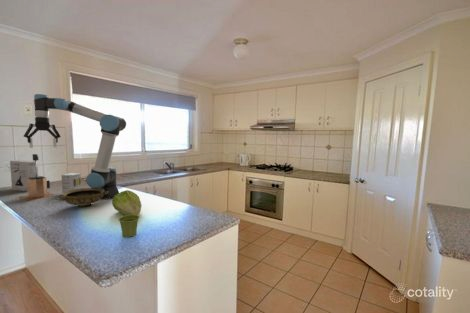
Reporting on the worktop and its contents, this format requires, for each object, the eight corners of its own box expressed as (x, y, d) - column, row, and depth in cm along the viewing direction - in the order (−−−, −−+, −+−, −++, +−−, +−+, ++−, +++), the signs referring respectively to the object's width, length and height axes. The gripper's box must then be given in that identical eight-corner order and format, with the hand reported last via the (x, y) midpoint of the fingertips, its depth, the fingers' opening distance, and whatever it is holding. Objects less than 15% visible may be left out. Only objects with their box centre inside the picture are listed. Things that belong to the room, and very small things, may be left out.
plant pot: (142, 230, 116) (142, 214, 115) (135, 239, 106) (134, 221, 105) (124, 230, 115) (123, 214, 115) (115, 239, 106) (114, 221, 105)
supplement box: (73, 196, 176) (72, 175, 175) (61, 195, 177) (60, 174, 175) (81, 193, 186) (81, 173, 184) (71, 192, 186) (70, 172, 185)
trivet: (57, 197, 173) (57, 195, 173) (27, 202, 157) (26, 201, 157) (47, 193, 182) (47, 192, 182) (17, 198, 166) (17, 197, 166)
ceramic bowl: (60, 215, 135) (59, 199, 134) (54, 206, 151) (53, 191, 151) (114, 205, 156) (114, 191, 155) (104, 198, 173) (103, 185, 172)
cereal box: (11, 189, 193) (9, 160, 191) (22, 187, 200) (20, 159, 198) (29, 191, 187) (27, 162, 184) (39, 189, 194) (37, 161, 192)
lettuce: (119, 212, 124) (143, 195, 132) (105, 197, 140) (127, 183, 148) (131, 229, 131) (153, 212, 139) (117, 213, 147) (137, 199, 155)
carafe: (52, 195, 173) (51, 176, 172) (31, 199, 163) (30, 178, 161) (47, 193, 178) (46, 175, 177) (26, 196, 168) (25, 177, 166)
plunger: (45, 185, 170) (43, 154, 168) (32, 186, 164) (31, 154, 162) (41, 183, 174) (39, 153, 171) (29, 185, 167) (27, 154, 165)
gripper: (60, 118, 169) (61, 146, 171) (16, 115, 147) (17, 147, 149) (65, 118, 165) (66, 147, 167) (20, 115, 143) (22, 148, 145)
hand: (43, 147), depth 158 cm, fingers open, 13 cm apart
